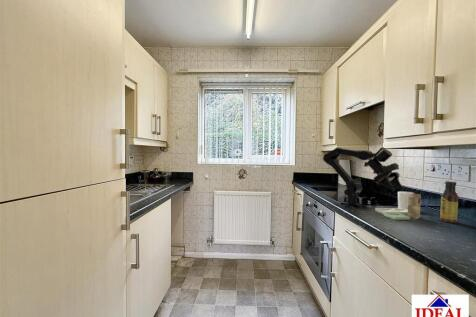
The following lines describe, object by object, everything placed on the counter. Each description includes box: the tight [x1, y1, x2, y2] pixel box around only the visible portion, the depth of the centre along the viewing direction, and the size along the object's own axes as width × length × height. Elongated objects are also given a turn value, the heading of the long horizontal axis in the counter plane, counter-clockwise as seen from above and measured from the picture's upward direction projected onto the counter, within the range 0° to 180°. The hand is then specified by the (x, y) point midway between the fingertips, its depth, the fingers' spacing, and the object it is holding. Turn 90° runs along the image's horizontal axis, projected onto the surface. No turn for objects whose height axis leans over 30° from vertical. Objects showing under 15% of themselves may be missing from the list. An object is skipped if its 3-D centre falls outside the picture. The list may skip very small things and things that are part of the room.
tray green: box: [383, 213, 411, 221], centre depth 121 cm, size 8×8×2 cm
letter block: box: [407, 192, 422, 220], centre depth 122 cm, size 4×4×12 cm
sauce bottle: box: [439, 180, 459, 224], centre depth 116 cm, size 6×6×20 cm
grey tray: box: [389, 207, 408, 216], centre depth 132 cm, size 8×8×2 cm
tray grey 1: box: [374, 207, 399, 215], centre depth 131 cm, size 8×8×2 cm
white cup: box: [397, 191, 412, 210], centre depth 140 cm, size 8×8×10 cm
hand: (398, 189), depth 129 cm, fingers open, 9 cm apart
